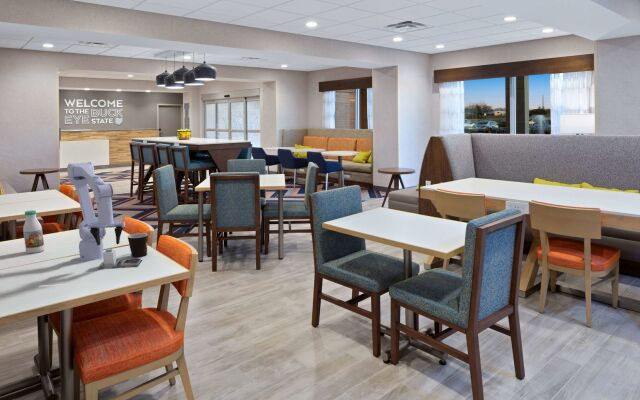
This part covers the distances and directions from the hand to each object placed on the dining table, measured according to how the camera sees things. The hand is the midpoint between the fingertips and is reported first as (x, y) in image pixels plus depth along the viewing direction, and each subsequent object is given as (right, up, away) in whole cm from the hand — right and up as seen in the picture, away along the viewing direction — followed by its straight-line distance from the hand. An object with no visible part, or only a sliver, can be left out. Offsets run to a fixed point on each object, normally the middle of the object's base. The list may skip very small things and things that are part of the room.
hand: (108, 244), depth 197 cm
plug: (0, -9, +2) cm, 9 cm away
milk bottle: (-48, -6, +27) cm, 55 cm away
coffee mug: (+7, -7, +17) cm, 20 cm away
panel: (+4, -10, +2) cm, 11 cm away
